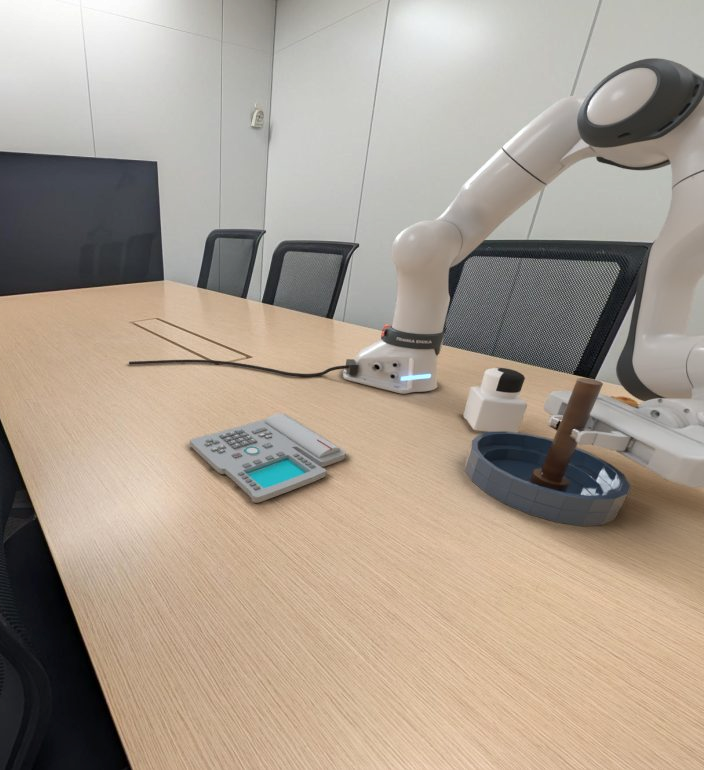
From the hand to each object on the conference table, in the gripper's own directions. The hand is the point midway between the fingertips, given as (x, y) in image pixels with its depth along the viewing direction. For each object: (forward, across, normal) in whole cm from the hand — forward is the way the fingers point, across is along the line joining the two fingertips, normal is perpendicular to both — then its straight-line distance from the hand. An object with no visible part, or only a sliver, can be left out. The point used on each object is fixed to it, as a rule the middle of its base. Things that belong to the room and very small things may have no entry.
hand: (563, 429), depth 52 cm
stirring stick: (-1, 0, +9) cm, 9 cm away
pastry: (-35, -27, +12) cm, 45 cm away
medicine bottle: (-7, -22, +12) cm, 26 cm away
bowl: (-1, -2, +12) cm, 12 cm away
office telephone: (+38, -10, +12) cm, 41 cm away
